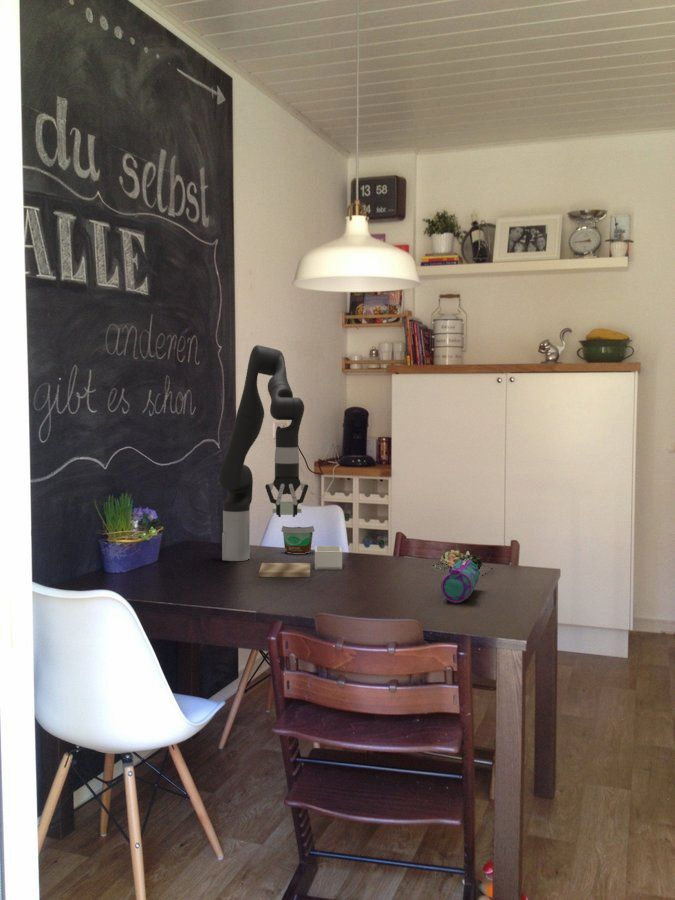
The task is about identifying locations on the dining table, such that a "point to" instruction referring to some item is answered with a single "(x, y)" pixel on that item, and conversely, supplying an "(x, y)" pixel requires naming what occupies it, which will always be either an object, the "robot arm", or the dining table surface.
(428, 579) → the dining table surface
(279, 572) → the board
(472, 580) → the pencil case
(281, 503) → the pale grey block
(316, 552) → the tub
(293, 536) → the food container
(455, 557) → the floral arrangement
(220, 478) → the robot arm
